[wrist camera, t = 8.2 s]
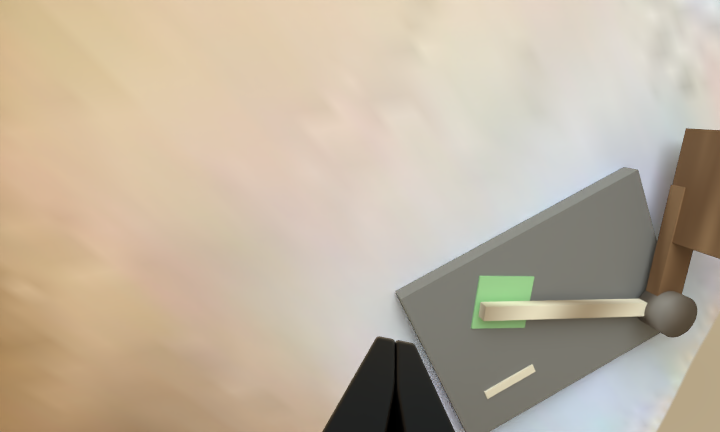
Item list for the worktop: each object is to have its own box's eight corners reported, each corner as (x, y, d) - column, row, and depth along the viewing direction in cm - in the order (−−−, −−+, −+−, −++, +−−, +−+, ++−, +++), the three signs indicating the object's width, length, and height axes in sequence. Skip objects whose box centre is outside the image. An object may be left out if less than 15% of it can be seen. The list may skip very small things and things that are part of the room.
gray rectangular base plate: (464, 429, 27) (472, 443, 25) (395, 291, 23) (401, 300, 22) (663, 315, 28) (679, 323, 27) (623, 167, 24) (639, 170, 23)
